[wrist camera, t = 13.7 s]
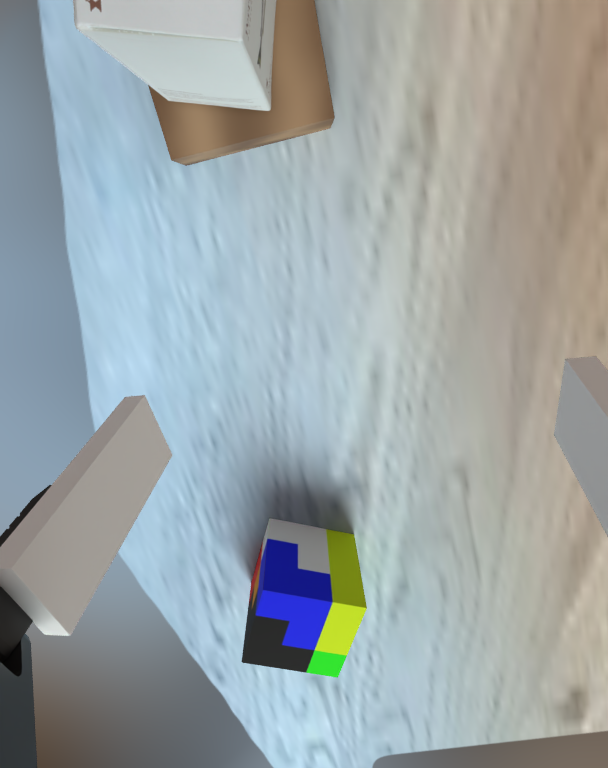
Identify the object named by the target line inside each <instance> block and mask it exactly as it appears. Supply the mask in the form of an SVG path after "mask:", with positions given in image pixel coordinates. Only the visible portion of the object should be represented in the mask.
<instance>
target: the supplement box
mask: <svg viewBox="0 0 608 768" xmlns="http://www.w3.org/2000/svg"><path fill="white" fill-rule="evenodd" d="M73 5H74V22H75V26H76V28H77V29H78V30H79V31H80V32H81V33H83V34H84V35H85V36H86V37H88V38H89V39H90V40H92V41H93V42H94V43H96V44H97V45H98V46H99V47H101V48H102V49H103V50H104V51H106V52H107V53H108V54H110V55H111V56H112V57H113V58H115V59H116V60H117V61H119V62H120V63H121V64H122V65H124V66H125V67H126V68H127V69H129V70H130V71H131V72H133V73H134V74H135V75H136V76H138V77H139V78H140V79H141V80H143V81H144V82H145V83H147V84H148V85H149V86H150V87H152V88H153V89H154V90H155V91H157V92H158V93H159V94H161V95H162V96H163V97H164V98H166V99H167V100H168V101H175V102H185V103H196V104H204V105H215V106H224V107H233V108H243V109H252V110H263V111H270V110H271V81H272V60H273V42H274V25H275V11H276V0H73Z"/></svg>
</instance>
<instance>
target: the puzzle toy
mask: <svg viewBox="0 0 608 768" xmlns="http://www.w3.org/2000/svg"><path fill="white" fill-rule="evenodd" d="M366 609H367V607H366V601H365V595H364V589H363V584H362V578H361V572H360V566H359V560H358V555H357V549H356V543H355V537H354V534H349V533H344V532H339V531H334V530H328V529H323V528H318V527H313V526H308V525H303V524H298V523H293V522H287V521H282V520H277V519H272V518H269V521H268V525H267V528H266V532H265V535H264V539H263V543H262V546H261V550H260V554H259V557H258V561H257V564H256V568H255V572H254V575H253V579H252V582H251V590H250V599H249V607H248V615H247V623H246V631H245V640H244V648H243V656H242V662H243V663H249V664H256V665H262V666H268V667H275V668H281V669H287V670H294V671H300V672H306V673H313V674H319V675H326V676H332V677H338V675H339V673H340V671H341V668H342V666H343V663H344V661H345V659H346V656H347V654H348V652H349V649H350V647H351V644H352V642H353V640H354V637H355V635H356V633H357V630H358V628H359V625H360V623H361V621H362V618H363V616H364V614H365V611H366Z"/></svg>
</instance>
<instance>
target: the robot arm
mask: <svg viewBox="0 0 608 768" xmlns="http://www.w3.org/2000/svg"><path fill="white" fill-rule="evenodd" d="M554 436H555V438H556V440H557V442H558V443H559V445H560V447H561V449H562V451H563V453H564V455H565V457H566V459H567V461H568V462H569V464H570V466H571V468H572V470H573V472H574V474H575V476H576V478H577V479H578V481H579V483H580V485H581V487H582V489H583V491H584V493H585V495H586V497H587V498H588V500H589V502H590V504H591V506H592V508H593V510H594V512H595V514H596V515H597V517H598V519H599V521H600V523H601V525H602V527H603V529H604V531H605V532H606V534H607V536H608V370H607V369H606V367H605V366H604V365H603V364H602V363H601V362H600V360H599V359H598V358H597V357H596V356H592V357H581V358H569V359H565V364H564V371H563V378H562V385H561V391H560V398H559V405H558V412H557V418H556V425H555V432H554ZM171 457H172V453H171V451H170V449H169V447H168V445H167V443H166V440H165V438H164V436H163V434H162V432H161V430H160V427H159V425H158V423H157V421H156V419H155V416H154V414H153V412H152V410H151V408H150V406H149V403H148V401H147V399H146V397H145V395H142V396H131V397H125V398H124V399H123V400H122V401H121V402H120V404H119V405H118V406H117V407H116V408H115V410H114V411H113V412H112V413H111V415H110V416H109V417H108V418H107V419H106V421H105V422H104V423H103V424H102V425H101V427H100V428H99V429H98V430H97V431H96V433H95V434H94V435H93V436H92V437H91V439H90V440H89V441H88V442H87V443H86V445H85V446H84V447H83V448H82V449H81V451H80V452H79V453H78V454H77V455H76V457H75V458H74V459H73V460H72V461H71V463H70V464H69V465H68V466H67V467H66V469H65V470H64V471H63V472H62V473H61V475H60V476H59V477H58V478H57V480H56V481H55V482H54V483H53V484H52V485H49V486H48V487H47V488H46V489H44V490H43V491H42V492H40V493H39V494H38V495H37V496H35V497H34V498H33V499H32V500H31V501H30V502H29V503H28V505H27V506H26V507H25V508H24V509H23V510H22V512H21V513H20V516H19V517H17V518H16V519H15V520H14V521H13V522H12V523H11V525H10V528H9V529H6V530H5V532H4V533H3V534H2V535H1V536H0V768H37V755H36V737H35V717H34V698H33V680H32V679H33V678H32V659H31V643H30V640H29V637H28V636H27V635H26V634H25V632H26V631H27V629H28V628H29V626H30V625H31V623H32V622H33V623H34V624H35V625H36V626H37V627H38V628H39V629H40V630H41V631H42V632H43V633H44V634H45V635H65V636H70V635H71V634H72V632H73V630H74V628H75V627H76V625H77V623H78V621H79V620H80V618H81V616H82V614H83V613H84V611H85V609H86V607H87V605H88V604H89V602H90V600H91V598H92V597H93V595H94V593H95V591H96V589H97V588H98V586H99V584H100V582H101V580H102V579H103V577H104V575H105V573H106V572H107V570H108V568H109V566H110V565H111V563H112V561H113V559H114V558H115V556H116V554H117V552H118V551H119V549H120V547H121V545H122V543H123V542H124V540H125V538H126V536H127V535H128V533H129V531H130V529H131V528H132V526H133V524H134V522H135V520H136V519H137V517H138V515H139V513H140V512H141V510H142V508H143V506H144V504H145V503H146V501H147V499H148V497H149V496H150V494H151V492H152V490H153V489H154V487H155V485H156V483H157V481H158V480H159V478H160V476H161V474H162V473H163V471H164V469H165V467H166V466H167V464H168V462H169V460H170V458H171Z"/></svg>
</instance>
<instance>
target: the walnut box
mask: <svg viewBox="0 0 608 768" xmlns="http://www.w3.org/2000/svg"><path fill="white" fill-rule="evenodd" d="M148 86H149V85H148ZM149 89H150V92H151V96H152V99H153V102H154V105H155V109H156V112H157V115H158V118H159V121H160V125H161V128H162V131H163V134H164V138H165V141H166V144H167V147H168V151H169V154H170V157H171V160H172V161H175V162H178V163H181V164H183V165H186V166H187V165H190V164H194V163H198V162H202V161H206V160H210V159H214V158H217V157H221V156H225V155H229V154H233V153H237V152H241V151H244V150H248V149H252V148H256V147H260V146H264V145H268V144H272V143H275V142H279V141H283V140H287V139H291V138H295V137H299V136H302V135H306V134H310V133H314V132H318V131H322V130H326V129H329V128H331V125H332V123H333V120H334V118H335V117H334V112H333V106H332V100H331V94H330V89H329V83H328V77H327V71H326V66H325V60H324V54H323V48H322V43H321V37H320V31H319V25H318V20H317V14H316V8H315V2H314V0H276V11H275V25H274V42H273V60H272V81H271V110H270V111H263V110H252V109H243V108H233V107H224V106H215V105H204V104H196V103H185V102H175V101H168V100H167V99H166V98H164V97H163V96H162V95H161V94H159V93H158V92H157V91H155V90H154V89H153V88H152V87H150V86H149Z"/></svg>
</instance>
